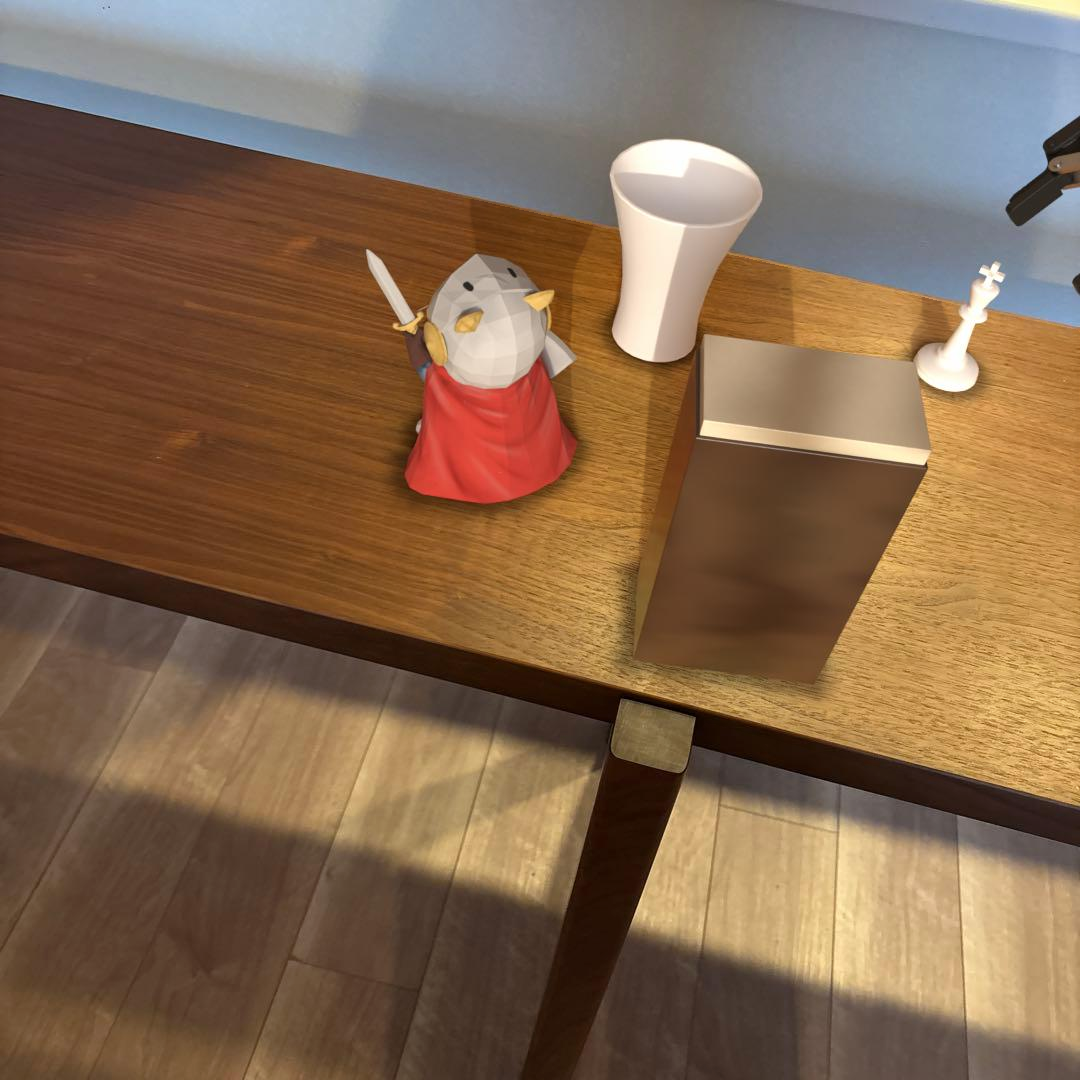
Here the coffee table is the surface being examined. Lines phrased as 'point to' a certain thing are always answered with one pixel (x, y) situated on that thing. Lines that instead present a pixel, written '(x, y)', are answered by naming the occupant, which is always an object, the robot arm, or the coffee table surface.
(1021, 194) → the robot arm
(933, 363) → the chess piece
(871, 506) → the rectangular box
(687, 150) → the cup
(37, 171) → the coffee table surface
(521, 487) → the figurine
